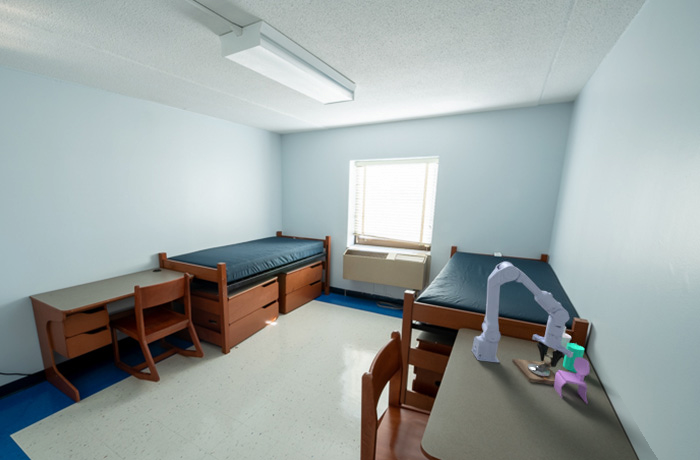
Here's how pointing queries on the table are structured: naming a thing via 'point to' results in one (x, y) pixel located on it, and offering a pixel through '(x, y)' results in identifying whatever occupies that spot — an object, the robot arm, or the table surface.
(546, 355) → the crank dial
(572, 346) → the candle
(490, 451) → the table surface
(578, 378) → the chair
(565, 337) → the smoothie
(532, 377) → the stand
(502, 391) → the table surface
